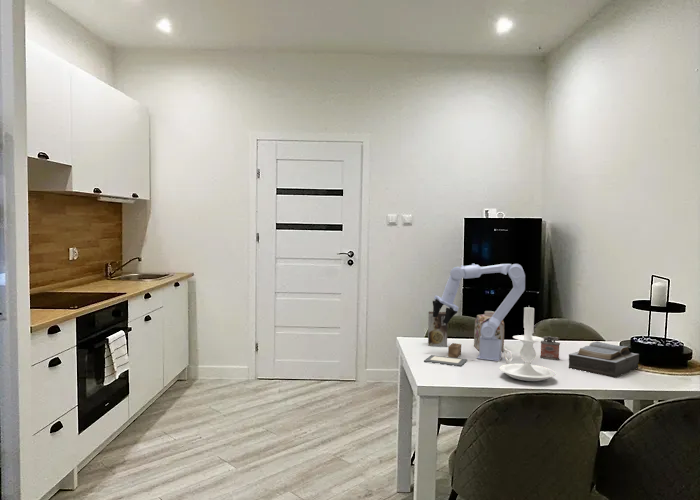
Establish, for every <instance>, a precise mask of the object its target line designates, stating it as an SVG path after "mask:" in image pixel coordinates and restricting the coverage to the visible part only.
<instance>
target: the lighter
mask: <svg viewBox="0 0 700 500" xmlns="http://www.w3.org/2000/svg"><path fill="white" fill-rule="evenodd" d="M543 339H544V340H543V341H540V355H539V356H540V357H539V359H542V358H543V359H544V360H549V361H560V344H561V343H560V342H556V341H559V337H557V336H551V335H548V336H543Z"/></svg>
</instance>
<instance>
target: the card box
mask: <svg viewBox="0 0 700 500" xmlns="http://www.w3.org/2000/svg"><path fill="white" fill-rule="evenodd" d="M447 350H448V351H447V357H453V358H460V356H461V355H462V343H455V342H452V343H451V344H449V345H447Z"/></svg>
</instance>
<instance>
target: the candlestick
mask: <svg viewBox="0 0 700 500" xmlns="http://www.w3.org/2000/svg"><path fill="white" fill-rule="evenodd" d="M534 325H535V308H534V307H530V306H528V307H527V306H526V307H523V328H524V330H523V331H524V334H521V335H519V334H517V335H513V336H512V338H513V339H515V340H518V341H520V342H522V344H523V345H522V347H521V348H520V351H519V355H520V358H521V359H522V360H523V361H524V363H510V362H512V361H513V358H514V357H513V352H512V350H510V349H508V348H505V347H504V350H503V351H504V354H503V355H504V360H505V361H506V364H503V365H500V366H499V370H500V371H501V372H502V373H504V374H506V376H509V377H511V378H513V379H516V380H519V381H526V382H541V381H545V380H548V379H550V378H552V377H554V376H556V375H557V373H556V371H555V370H553V369H551V368H549V367H545V366H542V365H536V364H531V363H532V361H533V360H534V359H535V358H536V354H537V353H536V350H535V347H534V343H537V342H541V341H544V337H540V336H536V335H533V334H534V333H535V332H534V328H535V327H534ZM507 354H509V359H508V356H507Z"/></svg>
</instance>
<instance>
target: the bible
mask: <svg viewBox="0 0 700 500" xmlns="http://www.w3.org/2000/svg"><path fill="white" fill-rule="evenodd" d="M639 360H640V353H634V352H630V350H629V347H628V346H625V345H616V344H610V343H605V342H601V341H597V340H596V341H593V342H590V343H589V345H585V346H583V347H580V348H579V350H578V351H575V352H572V353H570V354H568V369H570V368H572V369H571V370H575V369H576V370H575V371H580V370H581V372H584V371H586V373H589V372H590V374H595V375H600V376H602V377H603V376H605V377H609V378H613V379H616V378H618V377H621V376H623V375H625V374H628V373H630V372H633V371H636V370H637V369H639V368H640V367H639V363H640V361H639ZM636 368H637V369H636Z"/></svg>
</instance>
